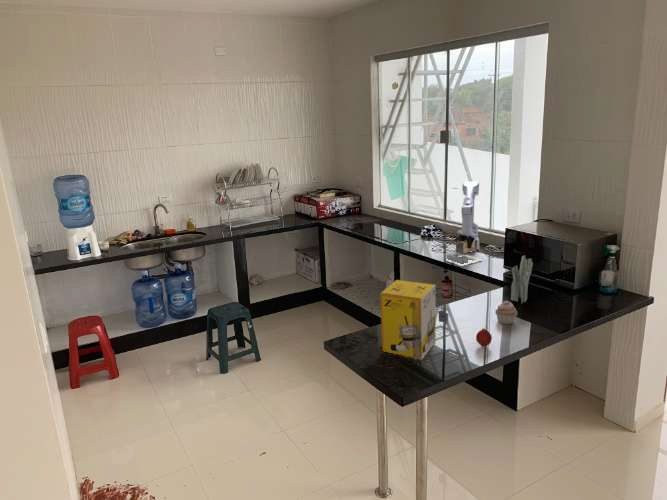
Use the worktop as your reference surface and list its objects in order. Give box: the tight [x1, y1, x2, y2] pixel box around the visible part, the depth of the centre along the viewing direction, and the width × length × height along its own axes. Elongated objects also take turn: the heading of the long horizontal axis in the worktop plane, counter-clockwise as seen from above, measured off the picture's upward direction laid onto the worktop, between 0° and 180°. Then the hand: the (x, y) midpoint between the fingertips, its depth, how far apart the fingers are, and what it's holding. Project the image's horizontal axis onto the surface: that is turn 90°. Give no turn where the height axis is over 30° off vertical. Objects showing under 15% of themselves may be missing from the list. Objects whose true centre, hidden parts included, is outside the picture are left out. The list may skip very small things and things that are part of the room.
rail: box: [455, 239, 477, 254], centre depth 298 cm, size 13×4×6 cm, turn 119°
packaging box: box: [379, 279, 437, 360], centre depth 195 cm, size 16×16×25 cm
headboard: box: [446, 252, 482, 264], centre depth 299 cm, size 16×14×4 cm
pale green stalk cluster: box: [510, 255, 534, 304], centre depth 236 cm, size 28×7×20 cm, turn 148°
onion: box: [475, 327, 493, 348], centre depth 195 cm, size 6×6×8 cm
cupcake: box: [495, 300, 518, 326], centre depth 214 cm, size 9×9×10 cm
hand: (466, 247), depth 299 cm, fingers closed on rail, 4 cm apart
